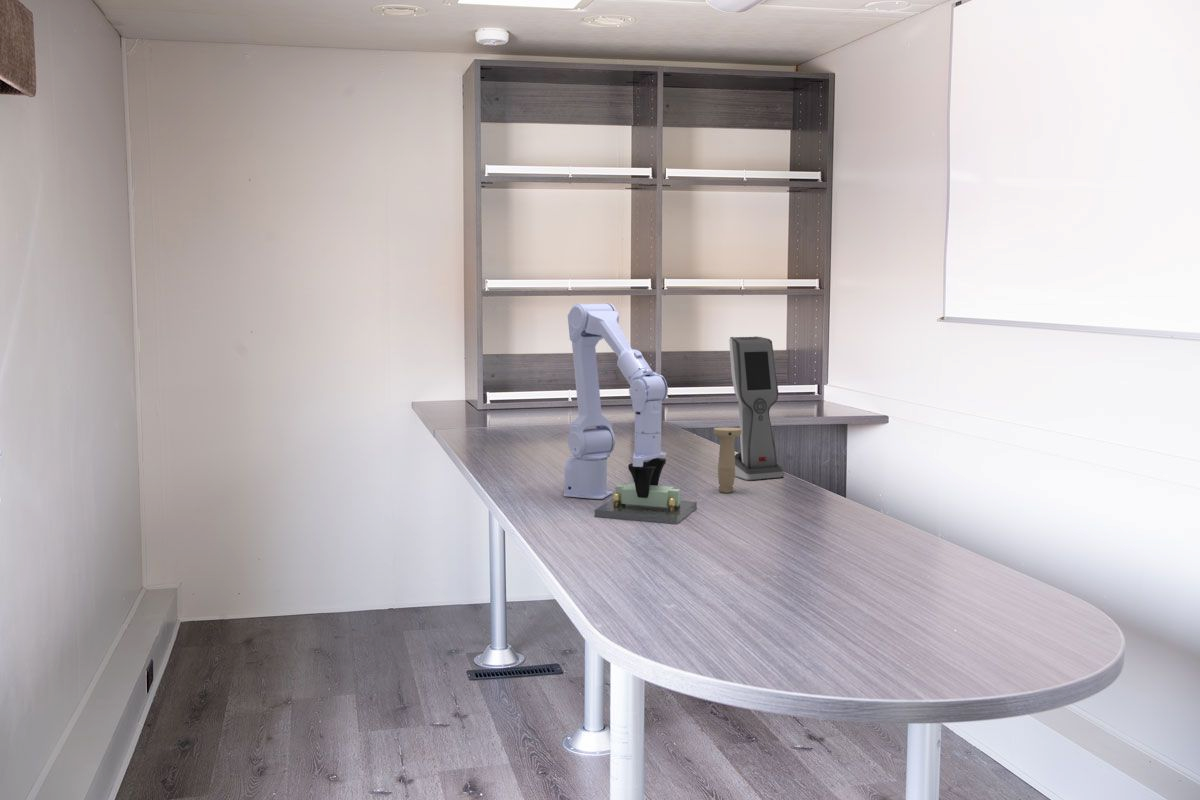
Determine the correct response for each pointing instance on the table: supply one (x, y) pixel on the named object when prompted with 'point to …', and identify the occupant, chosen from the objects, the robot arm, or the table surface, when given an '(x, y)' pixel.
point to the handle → (726, 457)
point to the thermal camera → (755, 406)
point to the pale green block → (655, 498)
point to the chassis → (646, 511)
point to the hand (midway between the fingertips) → (646, 494)
